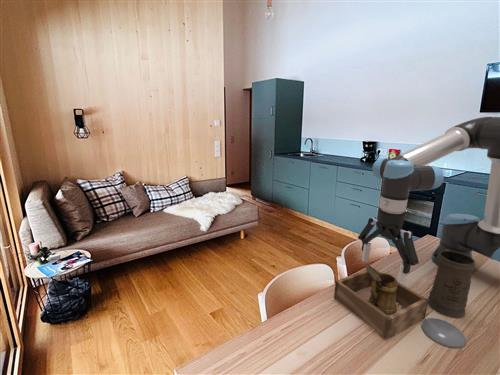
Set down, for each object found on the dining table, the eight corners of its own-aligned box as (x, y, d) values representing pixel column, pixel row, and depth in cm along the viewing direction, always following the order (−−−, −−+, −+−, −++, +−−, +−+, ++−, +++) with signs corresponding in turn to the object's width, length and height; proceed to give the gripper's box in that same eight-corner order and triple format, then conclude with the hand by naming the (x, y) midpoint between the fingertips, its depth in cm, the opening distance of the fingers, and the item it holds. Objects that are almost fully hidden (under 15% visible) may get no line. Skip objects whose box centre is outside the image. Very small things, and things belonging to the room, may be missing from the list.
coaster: (434, 315, 90) (434, 313, 90) (472, 339, 81) (473, 337, 81) (413, 327, 85) (414, 325, 85) (452, 353, 76) (453, 351, 76)
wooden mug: (352, 303, 96) (358, 258, 91) (381, 295, 100) (388, 251, 95) (371, 321, 88) (378, 272, 83) (402, 311, 92) (411, 264, 87)
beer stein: (473, 322, 87) (485, 265, 83) (436, 317, 89) (446, 261, 86) (449, 294, 102) (458, 245, 98) (417, 291, 104) (425, 242, 100)
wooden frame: (370, 283, 107) (372, 267, 106) (424, 318, 89) (428, 299, 87) (333, 297, 99) (335, 281, 97) (386, 339, 80) (389, 320, 79)
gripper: (351, 200, 93) (345, 255, 99) (425, 226, 72) (411, 294, 78) (366, 197, 97) (359, 251, 102) (441, 221, 75) (427, 287, 81)
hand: (382, 270), depth 90 cm, fingers open, 13 cm apart
